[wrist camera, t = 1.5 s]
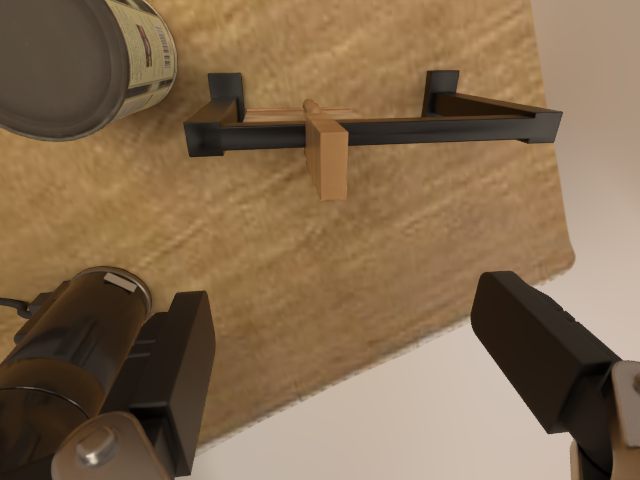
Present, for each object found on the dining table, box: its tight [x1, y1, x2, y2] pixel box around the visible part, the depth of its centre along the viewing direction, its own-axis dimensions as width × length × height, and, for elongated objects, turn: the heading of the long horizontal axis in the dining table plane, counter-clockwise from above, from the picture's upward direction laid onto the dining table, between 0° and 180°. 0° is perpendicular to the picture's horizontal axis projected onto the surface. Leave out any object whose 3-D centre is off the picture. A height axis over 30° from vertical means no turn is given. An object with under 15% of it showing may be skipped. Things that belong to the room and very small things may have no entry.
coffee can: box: [0, 0, 178, 142], centre depth 26 cm, size 10×10×14 cm
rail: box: [183, 70, 563, 157], centre depth 29 cm, size 25×6×17 cm, turn 90°
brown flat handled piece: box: [243, 99, 365, 201], centre depth 23 cm, size 9×4×19 cm, turn 90°
